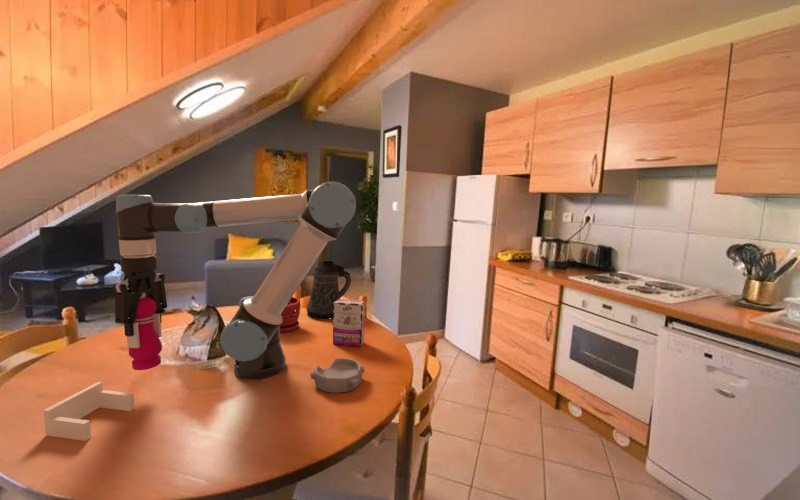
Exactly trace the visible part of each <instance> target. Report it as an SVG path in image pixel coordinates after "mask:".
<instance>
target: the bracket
mask: <svg viewBox="0 0 800 500" xmlns="http://www.w3.org/2000/svg"><path fill="white" fill-rule="evenodd" d="M103 388H104V387H103V382H102V381H97V382H94V383H93V384H91V385H90V386H87V387H86V388H84V389H82V390H80V391H77V392H76V393H74V394H72V395H70V396H68V397H66V398H65V399H64V398H63V399H62V400H59V402H56V403H54V404H53V405H50V406H48V407H47V408H45V409H43V418H44V419H43V420H44V430H45V436H46V437H53V438H61V439H68V440H75V441H83V442H86V441H88V440H90V439H91V438H92V433H91V421H90V420H88V419H83V418H84V417H86V416H87V415H89V414H91V413H92V412H95V410H98V409H100V408H101V409H102V408H103V409H110V410H111V409H112V410H116V411H117V410H118V411H124V412H131V411H133V410H134V409H135V397H134V396H135V395H134V393H133V392H123V391H115V390H107V389H103Z"/></svg>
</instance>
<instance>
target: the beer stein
mask: <svg viewBox="0 0 800 500" xmlns="http://www.w3.org/2000/svg"><path fill="white" fill-rule="evenodd" d="M312 276H313V279H312V285H311V291H310V296H309V300H308V302H307V305H306V309H305V310H306V314H307V316H308V317H309V319H313V318H315V319H314V320H320V319H327V320H330V319H329V318H333V304H334V302H335V301H336V300H341V298H342V297H343V296H344V295H345V294H346V292H348V290H349V288H350V287H351V283H352V277H351V274H350V273H349V272H347V270H345V268H344V267H343V266H342V265H341V264H335V263H334V261H332V260H331V261H329V260H325V261H324V260H323V261H322V262H321V264H319V265H318V266H317V267H315V268H314V269H313V270H312ZM341 277H343V278H345V283H344V285H343V287H341V289H340V288H339V278H341Z"/></svg>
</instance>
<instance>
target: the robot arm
mask: <svg viewBox="0 0 800 500" xmlns="http://www.w3.org/2000/svg"><path fill="white" fill-rule="evenodd" d="M115 198H116V199H115V215H116V221H117V223H116V224H117V229H118V230H117V232H118V246H119V255H120V256H121V258H120V271H121V272H122V273H123V274H124V277H123V281H121V282H120V283H114V284H112V288H113V291H114V304H115V305H114V322H115V324H121V325H123V328H124V335H125V336H124V337H126V342H127V345H126V346H127V348H128V349H129V348H139V347H140V342H139V330H138V322H135V318H136V313H137V308H138V303H139V298H140V296H142V292H144V293H145V294H146V296H145V297H148V298H151V299H153V300H154V301H155V303H156V310H155V312H154V313H153V314H154V315H155V316H154V318H155V320H154V321H153V326H154V330H155V333H156V334H157V336H158V337H159V339H160V338H162V337H163V336H162V321H163V320H162V314H164V313H165V312H166V309H167V308H168V301H167V293H166V287H165V274H164V273H156V270H158V258H157V256H156V253H157V242H156V234H157V233H158V234H159V233H167V234H168V233H170V234H172V233H175V234H194V233H195V234H199V233H203V232H204V230H205V229H212V228H220V227H230V226H240V225H241V226H242V225H253V224H264V223H275V222H286V221H295V220H296V221H297V220H299V222H300V224H299V227H298V228H297V229H296V231H295V232H294V234H293V235H292V237H291V239H290V240H289V241H288V243H287V244H286V246H285V248H284V249H283V251H282V252H281V253H280V255H279V257H278V259H277V260H276V262H275V263H274V265H273V266H272V268H271V269H270V271H269V273H268V274H267V275H266V277H265V278H264V279H263V281H262V283H261V285H260V286H259V288H258V289H257V291H256V293H254V295H250V296H249V295H248V296H244V297H242V298H240V299H239V304H238V309H237V311H236V312H235V313H234V315H233V317H232V319H231V320H230V321H229V323H227V324H226V325H225V326H224V327H223V329H222V332H221V333H220V338H219V343H220V346H221V349H222V350H223V352H224V353H225V354H226V355H227V356H228V357H229V358H231V359H232V360H234V364H233V365H234V366H233V368H234V369H233V371H234V374H235V375H236V376H238V377H240V378H245V379H254V380H255V379H262V378H268V377H271V376H275V375H277V374H279V373H280V372H281V371H283V370H284V369H285V367H286V356H285V353H284V351H283V347H282V345H281V339H280V338H281V332H280V324H281V323H282V321H283V319H282V315H281V313H282V311H283V310H284V308H285V307H286V305H287V304H288V302H289V301H290V299H291V298H292V297H294V294H295V293H296V291H297V290H298V289H299V287H300V285H301V284H302V282H303V281H304V279H305V278H306V277H307V275H308V273H309V272H310V270H311V268H312V267H313V265H314V264H315V262H316V261H317V259H318V258H319V257H320V256H321V253H322V251H323V250H324V249H325V247H326V246H327V245H328V243H329V242H332V241H335V240H337V239H338V238H339V236H340V234H341V233H342V232H343V230H344V228H345V227H346V225H347V224H348V223H349V222H350V221H351V220H352V218H353V217H354V215H355V213H356V209H357V201H356V197H355V195H354V192H352V190H351V189H350V188H349V187H347V185H345V184H343V183H341V182H339V181H331V180H330V181H325V182H322V183H321V184H319V185H318V186H317V187H315V188H313V189H305V191H304V192H303V193H297V194H283V195H271V196H270V195H269V196H260V197H250V198H238V199H227V200H225V199H224V200H215V201H204V202H203V201H201V202H188V203H187V202H184V203H183V202H182V203H181V202H180V203H179V202H178V203H174V202H170V203H169V202H168V203H166V202H165V203H161V202H154V199H153V197H152V195H150V194H119V195H118V196H117V197H115Z"/></svg>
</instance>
